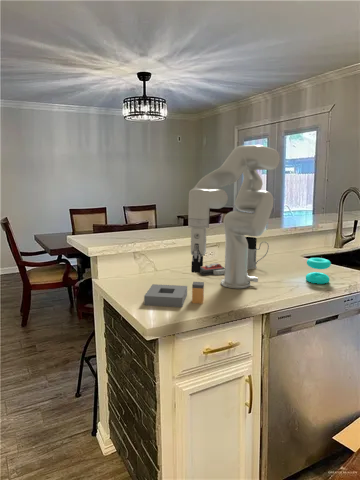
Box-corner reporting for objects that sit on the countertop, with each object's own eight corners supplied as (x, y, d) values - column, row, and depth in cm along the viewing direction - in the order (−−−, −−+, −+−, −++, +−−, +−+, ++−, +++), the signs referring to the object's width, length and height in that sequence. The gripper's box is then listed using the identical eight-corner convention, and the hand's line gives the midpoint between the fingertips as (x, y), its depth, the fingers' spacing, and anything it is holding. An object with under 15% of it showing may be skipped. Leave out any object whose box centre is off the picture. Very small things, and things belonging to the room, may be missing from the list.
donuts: (302, 258, 163) (317, 256, 168) (300, 280, 165) (315, 277, 170) (320, 263, 155) (336, 260, 160) (319, 286, 156) (334, 282, 162)
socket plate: (187, 294, 146) (187, 285, 145) (182, 307, 132) (182, 297, 132) (152, 292, 148) (152, 284, 147) (144, 305, 134) (144, 295, 134)
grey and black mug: (240, 264, 193) (241, 236, 190) (268, 266, 188) (269, 237, 185) (237, 268, 185) (238, 239, 182) (266, 270, 180) (268, 240, 177)
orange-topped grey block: (203, 299, 140) (204, 282, 139) (202, 303, 136) (203, 285, 135) (193, 299, 141) (193, 281, 139) (192, 302, 137) (192, 284, 135)
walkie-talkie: (203, 277, 170) (240, 273, 177) (203, 268, 169) (241, 264, 176) (195, 272, 178) (232, 268, 185) (195, 263, 177) (232, 260, 184)
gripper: (207, 226, 124) (205, 275, 126) (210, 220, 140) (209, 264, 143) (185, 225, 125) (184, 274, 127) (191, 220, 142) (189, 263, 144)
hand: (197, 269), depth 135 cm, fingers open, 9 cm apart
